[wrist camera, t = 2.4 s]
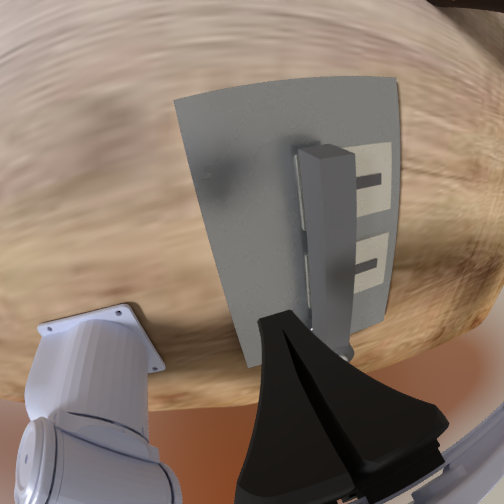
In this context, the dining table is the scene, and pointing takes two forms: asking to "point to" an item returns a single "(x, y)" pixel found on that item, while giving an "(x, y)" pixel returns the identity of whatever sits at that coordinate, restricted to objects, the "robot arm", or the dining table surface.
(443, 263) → the dining table surface
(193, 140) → the plate
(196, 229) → the dining table surface
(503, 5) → the coffee mug
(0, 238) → the dining table surface
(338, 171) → the cable arm
